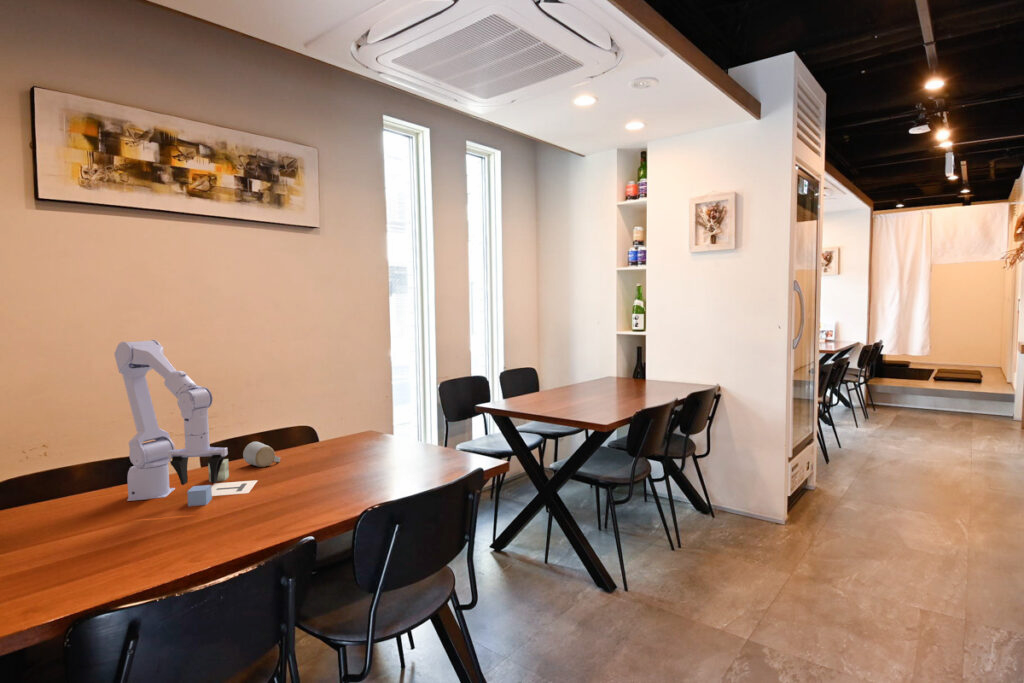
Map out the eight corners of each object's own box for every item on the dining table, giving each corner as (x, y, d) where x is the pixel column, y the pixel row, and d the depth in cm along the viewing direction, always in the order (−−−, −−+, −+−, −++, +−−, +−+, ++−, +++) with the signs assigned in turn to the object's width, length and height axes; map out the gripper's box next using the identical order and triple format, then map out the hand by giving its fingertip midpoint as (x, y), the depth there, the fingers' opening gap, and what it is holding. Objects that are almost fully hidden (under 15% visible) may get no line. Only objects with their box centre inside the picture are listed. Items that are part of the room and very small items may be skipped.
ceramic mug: (256, 470, 182) (255, 447, 181) (242, 466, 186) (242, 443, 186) (285, 463, 190) (285, 441, 190) (272, 459, 195) (271, 437, 195)
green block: (209, 483, 169) (208, 463, 168) (213, 479, 173) (212, 460, 173) (225, 482, 170) (224, 462, 170) (229, 477, 174) (228, 458, 174)
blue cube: (188, 508, 148) (187, 491, 148) (194, 502, 153) (193, 486, 152) (206, 506, 149) (205, 490, 149) (212, 500, 154) (211, 484, 153)
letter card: (202, 498, 156) (202, 496, 156) (215, 484, 167) (214, 483, 167) (248, 494, 158) (248, 493, 158) (257, 481, 170) (257, 480, 170)
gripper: (231, 429, 155) (233, 477, 155) (175, 431, 153) (178, 479, 154) (220, 434, 148) (223, 485, 148) (162, 437, 146) (165, 488, 147)
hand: (199, 483), depth 151 cm, fingers open, 7 cm apart
